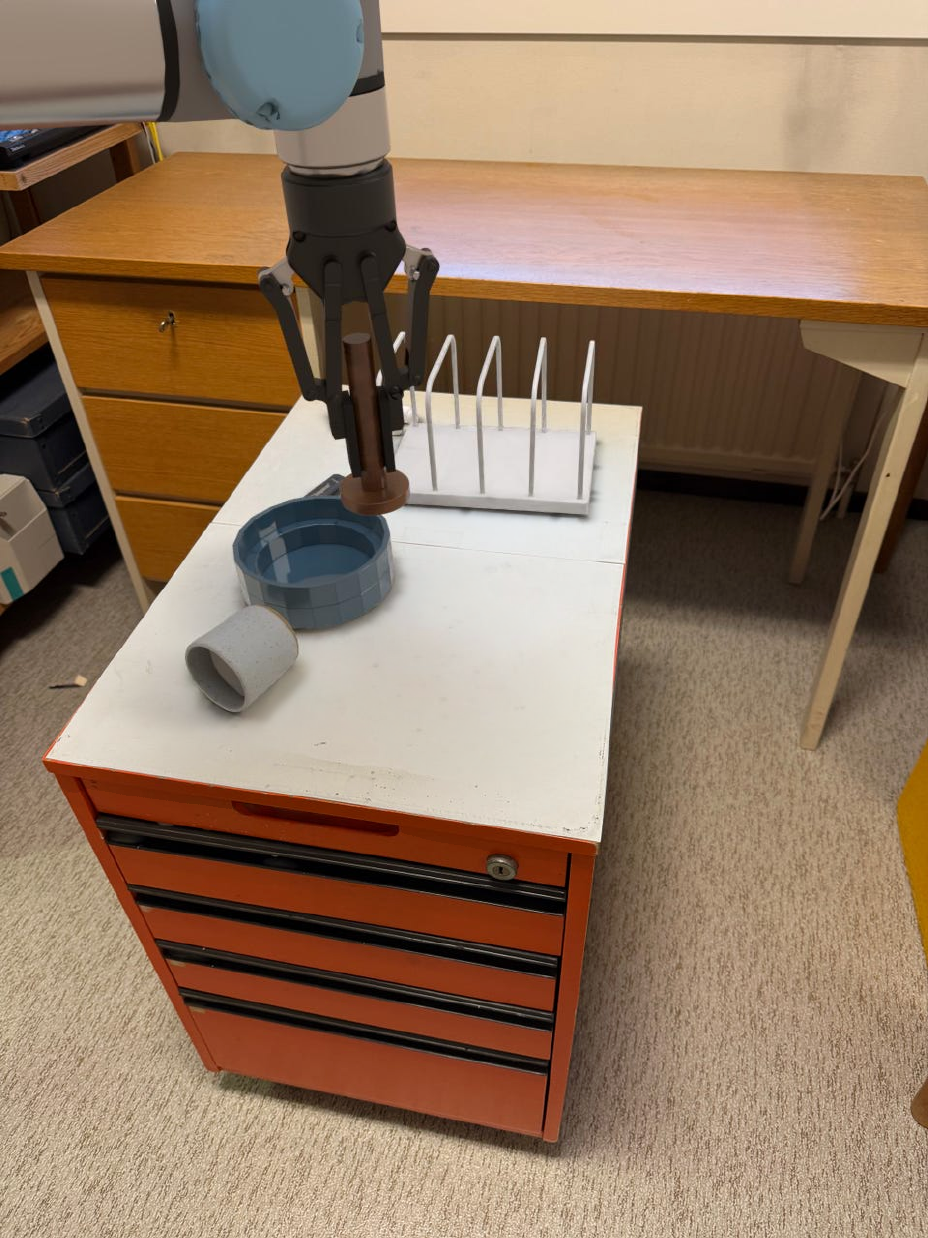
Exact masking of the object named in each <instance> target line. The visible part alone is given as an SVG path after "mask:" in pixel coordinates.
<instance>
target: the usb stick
mask: <svg viewBox="0 0 928 1238" xmlns="http://www.w3.org/2000/svg"><path fill="white" fill-rule="evenodd" d="M345 477H346V475H342V474H341V473H333V474H332V475H330V476H329V477H327V478H326V479H325V480H323V481H322V482H321V483H320V484H319V485H317V486H316V487H314V488H313V489H311V490H310V491H309V492H308V493H306V494H305V495H304V496H303V497H309V496H337V494H339V493H340V489H339V488H340V484H341V482H342V480H343V479H344V478H345Z"/></svg>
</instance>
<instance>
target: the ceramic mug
mask: <svg viewBox="0 0 928 1238" xmlns="http://www.w3.org/2000/svg"><path fill="white" fill-rule="evenodd" d="M299 648H300V647H299V642H298V637H297V636H296V633H295V630H294V628H291V626H290V625H289V623H288V622H287V621H286V620H285V619H284V618H283V617H282V616H281V615H280V614H279V613H278V612H276V611H275V610H273V609H271V608H269V607H267V606H264V605H258V604H256V605H251V606H248V605H247V606H246V607H244V608H241V609H240V610H237V611H236V612H235V613H232V615H230V616H229V617H228V618H227V619H225V620H224V621H222V622H221V623H219V624H217V625H216V626H215V627H213V628H212V629H210V630H209V631H207V632H206V633H204V634H203V635H202V636H199V637H198V638H197V639H195V640H194V641H192V642H191V643H190V644H189V645H188V646H187V648H186V649H185V653H184V660H185V666H186V668H187V671H188V673H189V675H190V677H191V679H192V681H193V682H194V684H195V685H196V686H197V687H198V689H199V690H200V691H201V692H202V693H203V694H204V696H206V697H207V698H208V699H209V700H210V701H211V702H212V703H214V704H215V705H216V706H217V707H220V708H222V709H224V710H225V711H229V712H232V713H240V712H243V711H245V710H247V708H249V707H250V705H251V704H252V703H254V702H255V701H256V700H257V699H258V698H259V697H261V695H262V694H264V693H265V692H266V691H267V690H269V688H270V687H271V686H272V685H273V684H274V683H275V682H276V681H277V680H279V679H280V678H281V677H282V676H284V675H285V673H286V672H287V671H288V670H289V669H291V667H292V666H293V664H294V663H295V662H296V660H297V658H298V656H299Z"/></svg>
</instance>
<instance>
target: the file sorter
mask: <svg viewBox="0 0 928 1238" xmlns="http://www.w3.org/2000/svg"><path fill="white" fill-rule="evenodd" d="M402 341H404V343H405V331H400V332H399V333H398V335H397V337H396V339H395V341H394V342H393V347H394V351H395V354H396V353H397V351H398V349H399V347H400V346H401V344H402ZM588 343H589V344H588V350H587V356H586V362H585V369H584V375H583V381H582V388H581V389H582V390H581V400H580V401H581V402H580V420H579V421H580V422H579V424H580V425H579V429H558V428H557V429H554V428H547V371H548V370H547V369H548V368H547V367H548V365H547V363H548V361H547V359H548V358H547V355H548V354H547V353H548V351H547V347H548V345H547V344H548V343H547V338H546V337H541V338H540V341H539V347H538V352H537V358H536V364H535V369H534V373H533V374H534V375H533V380H532V388H531V396H530V397H531V399H530V423H529V424H530V425H529V427H512V426H504V422H503V420H504V419H503V416H504V415H503V379H502V374H503V373H502V346H501V345H502V344H501V339H500V336H499V335H494V336H493V337H492V340H491V343H490V345H489V349H488V352H487V355H486V357H485V361H484V363H483V366H482V370H481V373H480V375H479V378H478V382H477V388H476V397H475V416H476V417H475V418H476V425H470V424H468V425H467V424H461V417H460V416H461V415H460V399H459V397H460V396H459V395H460V394H459V378H458V377H459V376H458V375H459V374H458V357H457V355H458V353H457V341H456V338H455V335H454V334H448V335H447V336H446V338H445V340H444V343H443V344H442V347H441V349H440V352H439V354H438V356H437V359H436V360H435V362H434V366H433V368H432V370H431V372H430V374H429V376H428V379H427V382H426V389H425V402H424V403H425V404H424V405H425V419H426V422H424V423H423V422H417V414H418V413H417V411H418V410H417V403H416V402H417V401H416V393H415V386H411V387H409V396H410V405H411V407H410V408H411V409H412V417H413V423H410V424H409V423H408V425H407V428H406V430H405V432H404V435H403V437H402V439H401V442H400V443H399V446H398V448H397V450H396V453H395V454H394V456H395V466H396V469H397V470H399V471H401V472H403V473H404V474H405V475H406V476H407V478H408V479H409V484H410V497H409V500H408V501H407V503H406V504H409V505H410V504H411V505H428V506H429V505H430V506H443V507H460V508H476V509H492V510H493V509H494V510H507V511H523V512H524V511H525V512H539V513H541V512H542V513H556V514H572V515H588V514H589V509H590V508H589V507H590V500H591V491H592V483H593V471H594V465H595V455H596V447H597V431H596V430H592V413H593V398H594V397H593V393H594V375H595V357H596V356H595V355H596V353H595V352H596V342H595V340H590V341H589V342H588ZM449 347H450V349H451V366H452V367H451V368H452V382H453V400H454V401H453V403H454V422H455V424H452V423H451V424H448V423H433V417H432V415H433V413H432V391H433V386H434V382H435V379H436V377H437V375H438V373H439V371H440V368H441V366H442V364H443V361H444V358H445V356H446V354H447V352H448V350H449ZM494 353H495V360H496V361H495V362H496V363H495V364H496V388H497V389H496V391H497V423H498V424H497V425H498V426H493V425H490V426H489V425H483V416H482V415H483V414H482V413H483V412H482V411H483V410H482V409H483V407H482V399H483V389H484V386H485V385H484V384H485V380H486V378H487V375H488V372H489V368H490V365H491V362H492V360H493V356H494ZM540 374H541V428H536V424H537V422H536V421H537V401H538V400H537V398H538V387H539V380H540ZM382 382H383V379H382V375H381V370H380V369H379V370H378V373H377V375H376V385H377V386H381V385H382Z"/></svg>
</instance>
